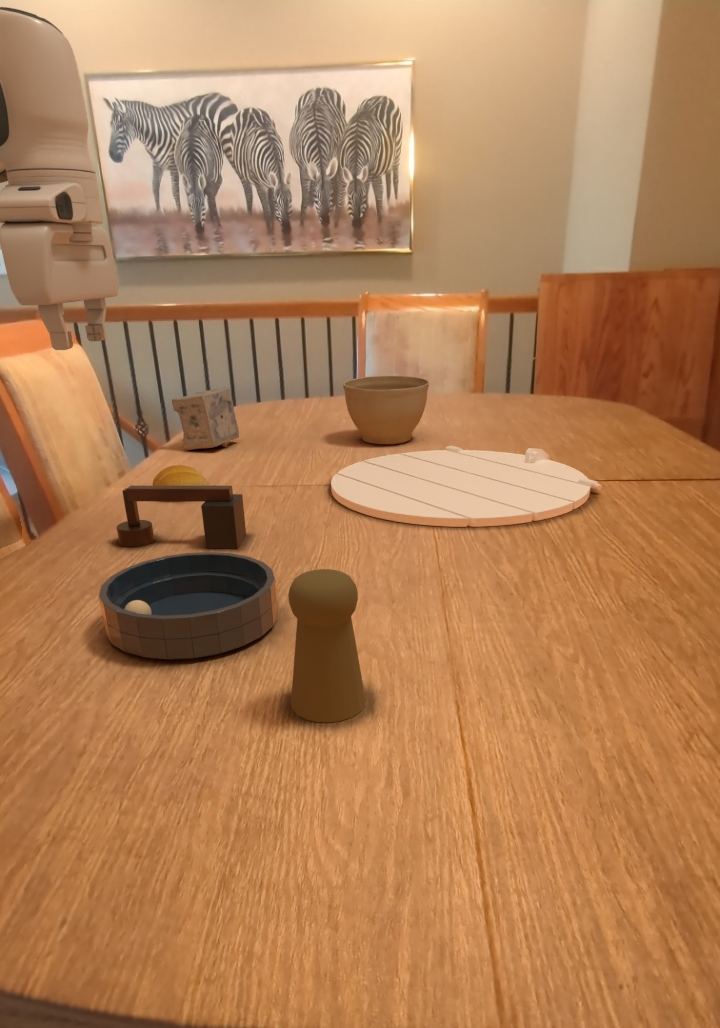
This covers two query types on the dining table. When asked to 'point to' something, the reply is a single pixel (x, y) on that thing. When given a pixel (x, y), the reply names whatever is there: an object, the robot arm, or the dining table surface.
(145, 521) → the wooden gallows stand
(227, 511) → the dark brown upright block
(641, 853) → the dining table surface
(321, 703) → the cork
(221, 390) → the incense holder
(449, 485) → the lazy susan
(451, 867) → the dining table surface
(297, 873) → the dining table surface
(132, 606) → the dough ball
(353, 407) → the planter bowl
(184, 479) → the bread roll
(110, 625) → the bowl
